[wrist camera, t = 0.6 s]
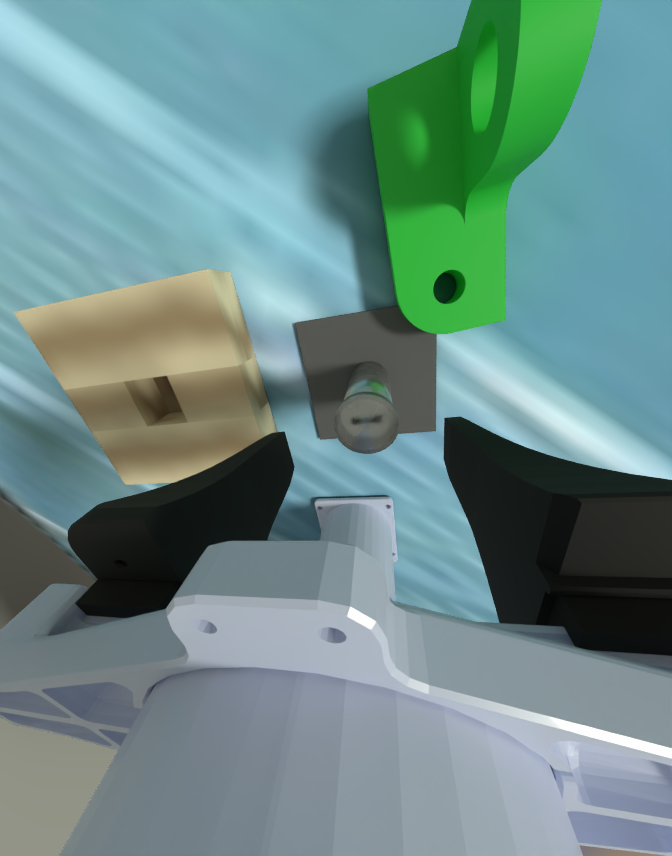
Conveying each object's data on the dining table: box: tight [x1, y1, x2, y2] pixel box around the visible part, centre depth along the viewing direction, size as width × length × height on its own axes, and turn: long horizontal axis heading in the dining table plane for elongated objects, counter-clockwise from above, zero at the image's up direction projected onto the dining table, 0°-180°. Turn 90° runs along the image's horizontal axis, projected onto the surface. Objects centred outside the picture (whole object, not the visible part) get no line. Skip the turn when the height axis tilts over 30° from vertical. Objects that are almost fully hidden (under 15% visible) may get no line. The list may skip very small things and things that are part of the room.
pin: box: [334, 361, 399, 454], centre depth 17 cm, size 3×3×8 cm
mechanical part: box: [367, 0, 602, 334], centre depth 12 cm, size 12×6×8 cm, turn 15°
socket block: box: [14, 269, 277, 485], centre depth 23 cm, size 16×16×3 cm
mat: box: [295, 306, 436, 440], centre depth 21 cm, size 10×10×1 cm
